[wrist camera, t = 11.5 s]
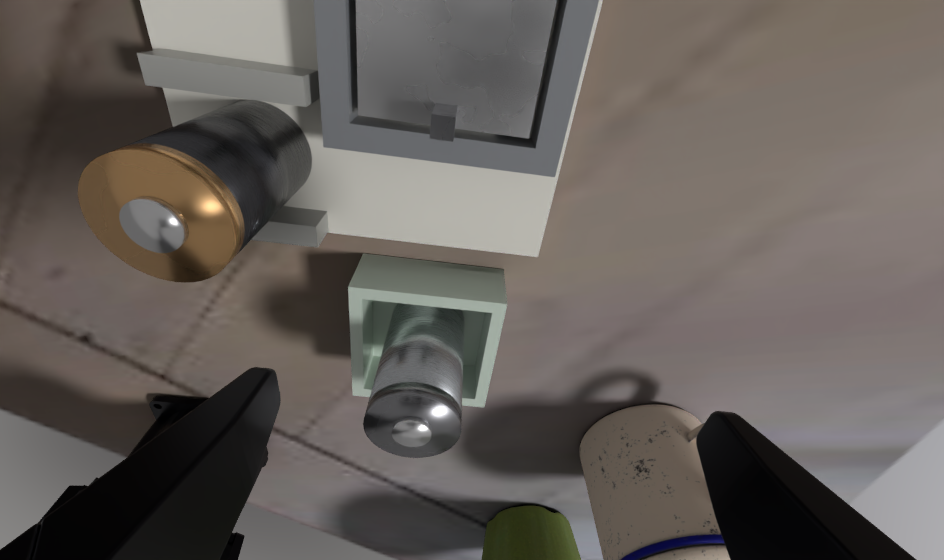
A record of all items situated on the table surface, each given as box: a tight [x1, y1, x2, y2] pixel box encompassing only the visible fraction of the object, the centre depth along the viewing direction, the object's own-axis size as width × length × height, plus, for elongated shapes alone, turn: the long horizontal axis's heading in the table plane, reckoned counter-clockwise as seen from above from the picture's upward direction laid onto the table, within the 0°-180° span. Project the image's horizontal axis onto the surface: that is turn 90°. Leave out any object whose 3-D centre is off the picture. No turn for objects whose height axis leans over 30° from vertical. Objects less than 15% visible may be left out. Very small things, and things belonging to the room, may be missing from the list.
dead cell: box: [363, 303, 465, 458], centre depth 20 cm, size 4×4×7 cm
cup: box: [348, 253, 507, 407], centre depth 22 cm, size 7×7×3 cm
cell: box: [78, 100, 312, 282], centre depth 14 cm, size 4×4×7 cm
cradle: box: [356, 0, 557, 142], centre depth 13 cm, size 6×6×3 cm
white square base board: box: [137, 0, 603, 257], centre depth 15 cm, size 16×16×3 cm
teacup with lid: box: [579, 404, 730, 560], centre depth 24 cm, size 12×9×12 cm
